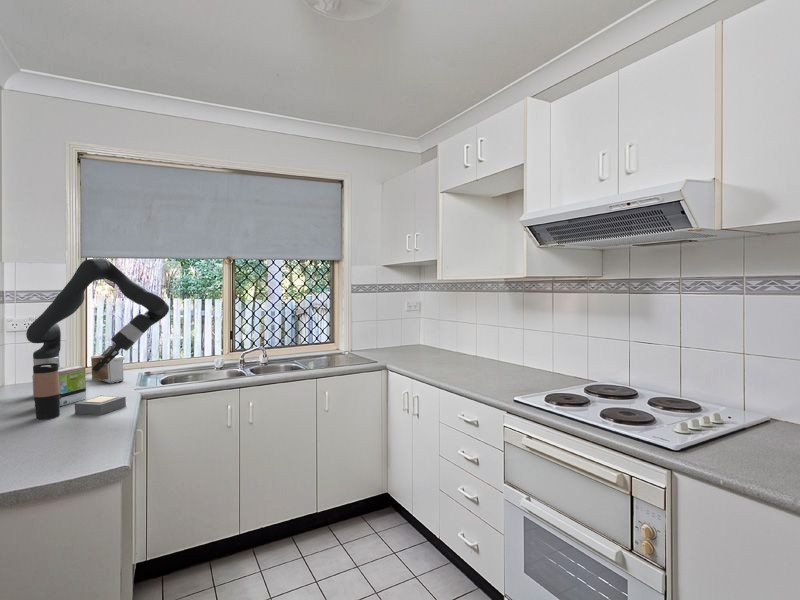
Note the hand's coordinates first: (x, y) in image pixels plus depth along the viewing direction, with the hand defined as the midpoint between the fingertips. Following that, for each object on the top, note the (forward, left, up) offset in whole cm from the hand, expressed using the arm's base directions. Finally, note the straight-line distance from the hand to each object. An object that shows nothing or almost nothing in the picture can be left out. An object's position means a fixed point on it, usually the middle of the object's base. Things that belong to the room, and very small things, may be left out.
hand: (94, 369), depth 178 cm
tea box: (-24, +6, -17) cm, 30 cm away
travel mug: (-11, -10, -17) cm, 23 cm away
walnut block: (+1, +1, -4) cm, 5 cm away
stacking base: (+1, +1, -17) cm, 17 cm away
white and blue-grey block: (-40, +46, -17) cm, 63 cm away
